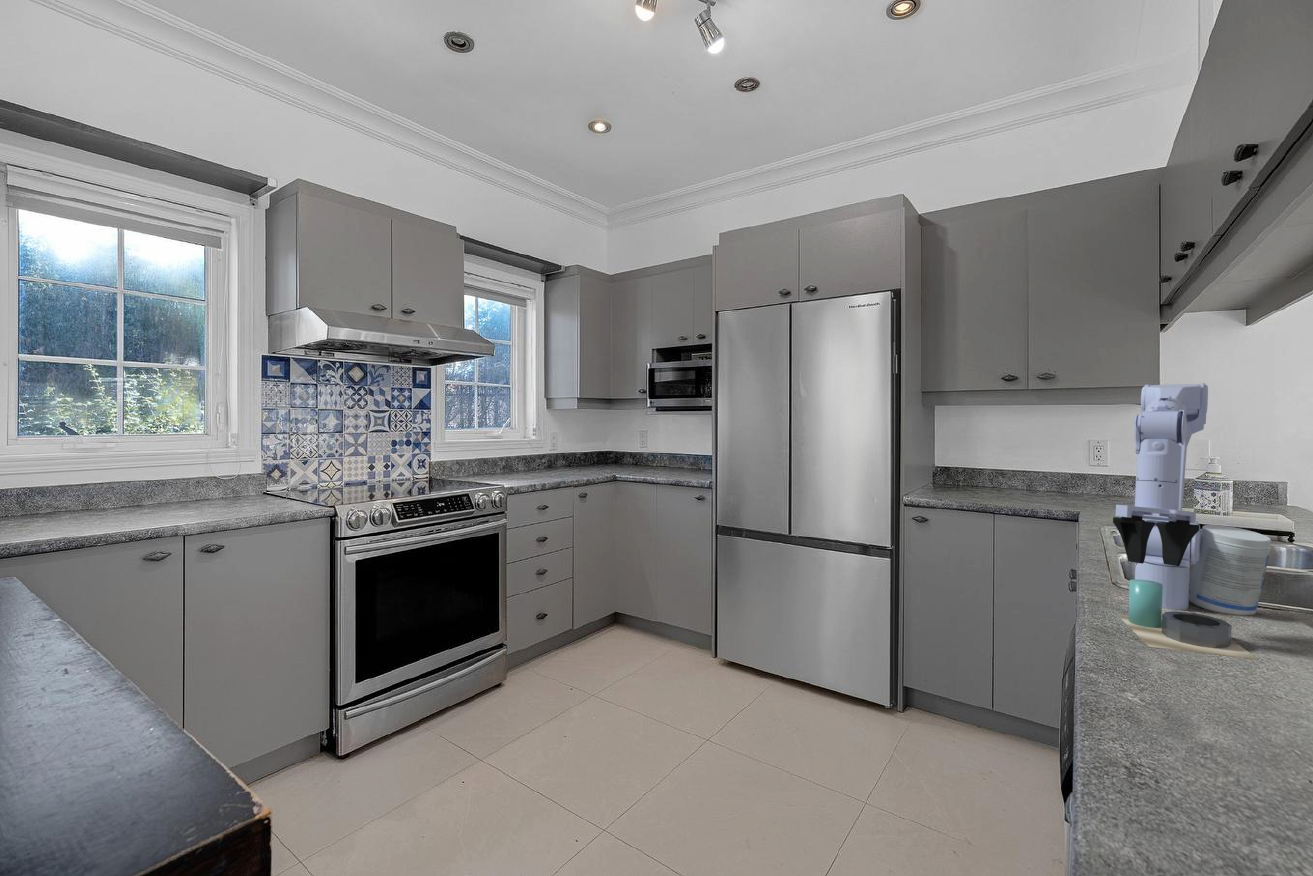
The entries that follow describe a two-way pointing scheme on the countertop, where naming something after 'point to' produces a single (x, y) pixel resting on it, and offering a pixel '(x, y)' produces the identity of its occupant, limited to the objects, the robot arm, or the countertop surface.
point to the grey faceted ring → (1196, 629)
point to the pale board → (1159, 640)
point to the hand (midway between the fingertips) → (1153, 563)
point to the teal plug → (1145, 603)
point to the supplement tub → (1229, 570)
